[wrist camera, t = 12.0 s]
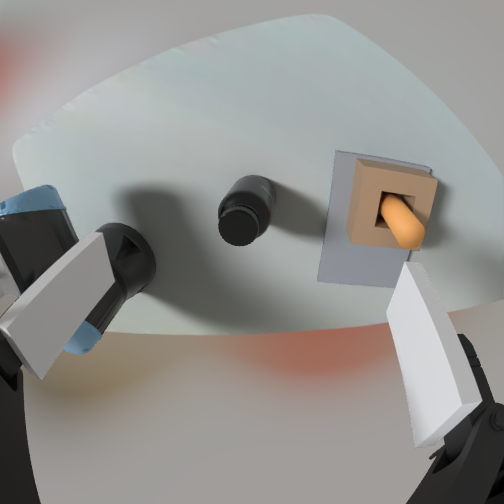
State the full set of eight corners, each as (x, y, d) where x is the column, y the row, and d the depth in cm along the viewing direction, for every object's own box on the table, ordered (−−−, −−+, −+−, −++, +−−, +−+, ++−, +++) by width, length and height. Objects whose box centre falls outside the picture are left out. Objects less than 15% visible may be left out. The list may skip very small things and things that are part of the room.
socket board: (317, 278, 49) (318, 300, 44) (335, 150, 38) (341, 158, 33) (396, 284, 47) (404, 306, 42) (427, 166, 36) (444, 177, 31)
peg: (372, 208, 40) (393, 247, 30) (376, 185, 38) (401, 218, 28) (393, 211, 40) (420, 250, 29) (398, 189, 38) (428, 222, 28)
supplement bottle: (283, 184, 42) (278, 216, 31) (265, 222, 45) (254, 263, 35) (240, 166, 41) (220, 192, 31) (225, 205, 45) (202, 241, 35)
